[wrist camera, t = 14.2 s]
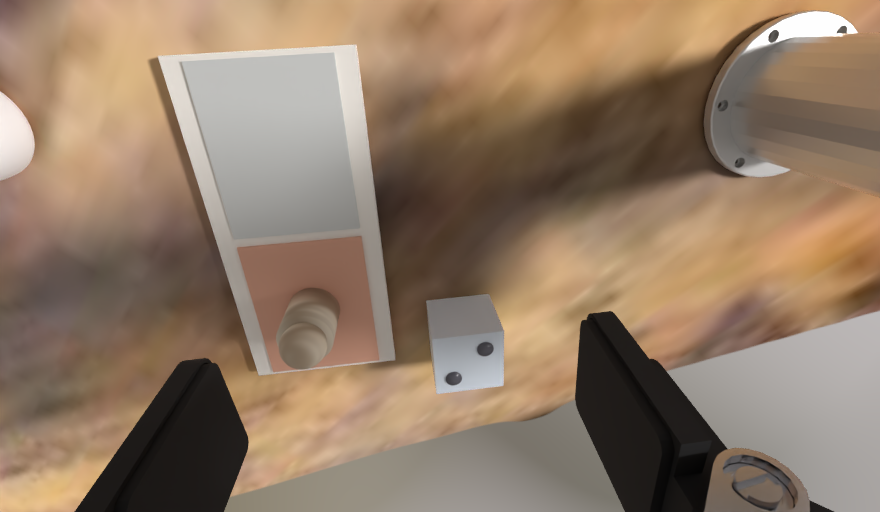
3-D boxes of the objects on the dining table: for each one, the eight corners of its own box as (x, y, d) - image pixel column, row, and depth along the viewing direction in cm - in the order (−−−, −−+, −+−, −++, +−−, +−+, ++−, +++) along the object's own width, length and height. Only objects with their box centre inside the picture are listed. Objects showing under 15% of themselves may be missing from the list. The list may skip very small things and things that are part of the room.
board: (356, 44, 30) (355, 44, 29) (395, 353, 43) (395, 361, 41) (164, 55, 29) (155, 56, 28) (261, 368, 42) (258, 377, 40)
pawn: (336, 286, 37) (325, 333, 31) (342, 328, 39) (332, 381, 33) (284, 289, 37) (262, 338, 30) (293, 331, 39) (273, 386, 32)
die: (488, 293, 41) (504, 332, 35) (489, 343, 43) (503, 386, 38) (426, 300, 40) (432, 340, 35) (430, 350, 43) (436, 395, 38)
